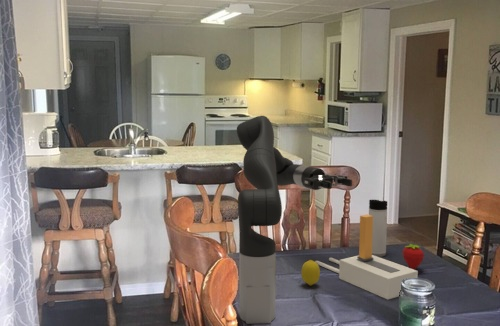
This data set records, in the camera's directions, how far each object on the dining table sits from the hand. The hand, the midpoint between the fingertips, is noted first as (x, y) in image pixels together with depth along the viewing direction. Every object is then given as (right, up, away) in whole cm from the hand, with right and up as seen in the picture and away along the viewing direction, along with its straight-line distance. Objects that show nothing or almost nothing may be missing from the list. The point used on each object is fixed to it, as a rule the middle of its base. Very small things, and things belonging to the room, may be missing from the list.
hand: (341, 184), depth 170 cm
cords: (-1, -28, +5) cm, 28 cm away
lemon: (-11, -30, -11) cm, 34 cm away
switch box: (+9, -30, -10) cm, 33 cm away
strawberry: (+23, -28, +2) cm, 37 cm away
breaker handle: (+6, -23, -7) cm, 24 cm away
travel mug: (+16, -26, +19) cm, 36 cm away
